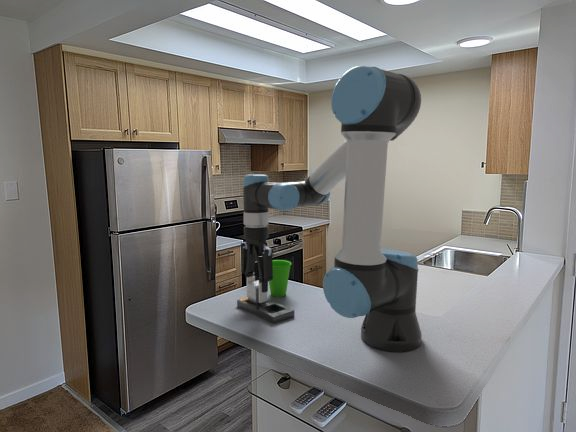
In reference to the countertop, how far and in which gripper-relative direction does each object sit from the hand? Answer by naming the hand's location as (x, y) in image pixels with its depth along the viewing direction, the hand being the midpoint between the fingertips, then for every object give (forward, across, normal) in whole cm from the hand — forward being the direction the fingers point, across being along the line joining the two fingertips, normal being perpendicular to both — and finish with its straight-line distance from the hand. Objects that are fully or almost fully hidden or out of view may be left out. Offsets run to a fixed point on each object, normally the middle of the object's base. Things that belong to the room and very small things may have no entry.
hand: (256, 298), depth 122 cm
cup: (+3, +5, -13) cm, 14 cm away
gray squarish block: (+3, 0, 0) cm, 3 cm away
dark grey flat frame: (+3, -4, 0) cm, 5 cm away
